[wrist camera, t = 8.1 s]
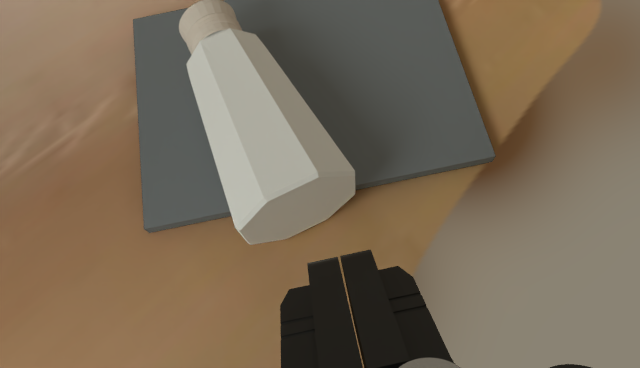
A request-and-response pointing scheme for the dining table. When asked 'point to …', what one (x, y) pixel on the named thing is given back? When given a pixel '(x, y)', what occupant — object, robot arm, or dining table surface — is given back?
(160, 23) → the mat
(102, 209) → the dining table surface
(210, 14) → the pepper shaker
